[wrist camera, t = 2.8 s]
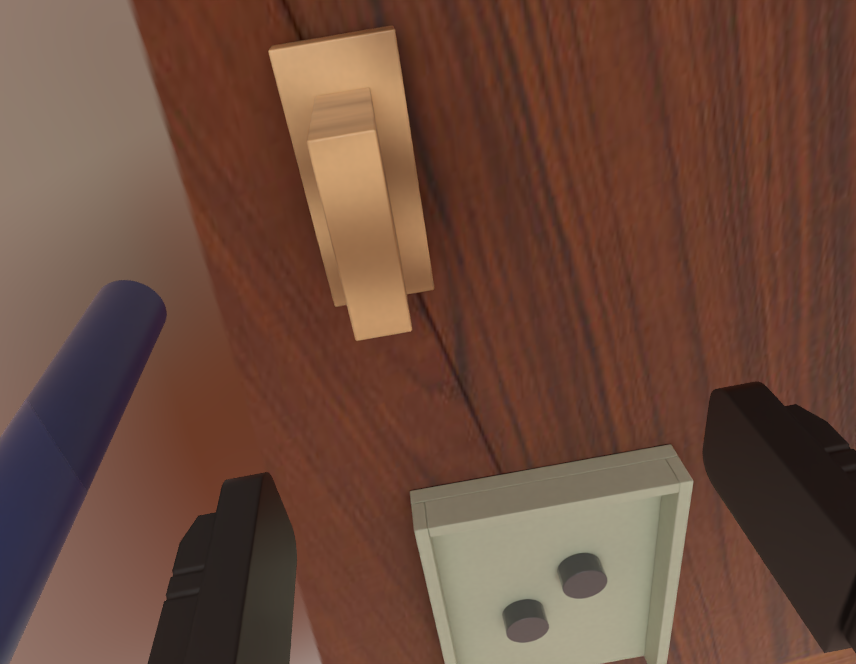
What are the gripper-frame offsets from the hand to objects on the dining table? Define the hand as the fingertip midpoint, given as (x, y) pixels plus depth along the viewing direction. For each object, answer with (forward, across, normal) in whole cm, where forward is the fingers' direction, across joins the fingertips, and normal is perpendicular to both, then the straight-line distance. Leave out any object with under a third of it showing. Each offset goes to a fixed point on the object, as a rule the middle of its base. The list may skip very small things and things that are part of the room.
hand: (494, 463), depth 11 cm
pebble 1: (+17, -3, +33) cm, 37 cm away
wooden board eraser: (+18, +2, 0) cm, 18 cm away
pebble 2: (+17, -7, +29) cm, 34 cm away
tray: (+18, -5, +31) cm, 36 cm away
